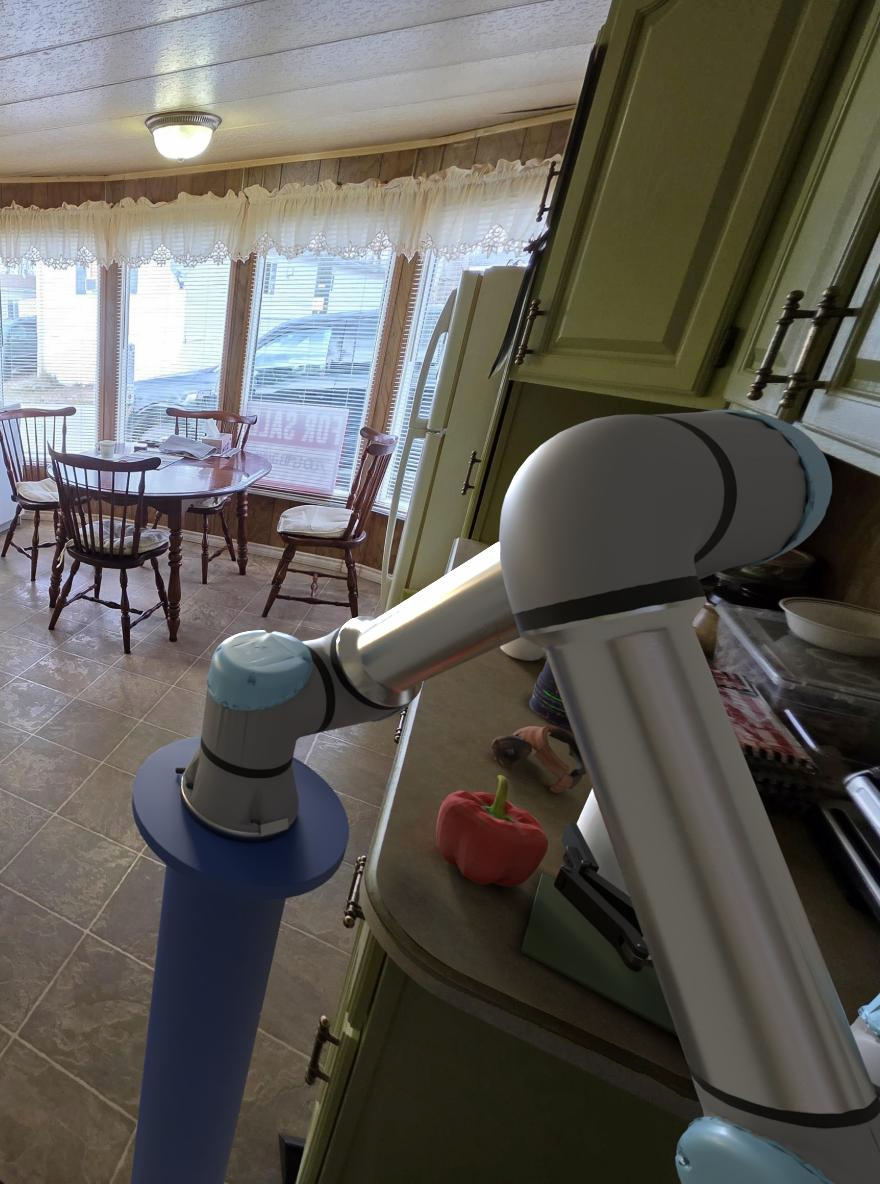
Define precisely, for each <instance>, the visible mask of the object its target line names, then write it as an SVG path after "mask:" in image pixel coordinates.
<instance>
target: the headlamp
mask: <svg viewBox="0 0 880 1184" xmlns="http://www.w3.org/2000/svg"><path fill="white" fill-rule="evenodd" d="M548 737H551V738H553V739H556V740H558V741H560V742H562V743H564V744H566V745H568V747H569V752H568V755H569V756H570V757H572V758H573V759H574V761H575V764H576V767H577V768H574V769H573V770H572V771H571V772H570V766H569V765H568V764H566V763H565V762H564V761H563V760H561V759H560V758H559V757H558V755H557V754H556V753H555V752H554V751H553V749H552V747H551V746H550V743H549V740H548ZM490 750H491V753H492V755H493V757H494V759H495V760H496V761H497V762H499V763H500V764H501V766H503V767H504V768H506V769H507V770H510V769H511V768H513V766H514V765H515V764H516V763H518V762H520V761H521V760H523V759H527V758H528V757H529V755H530V754H531V753H532V751H533V750H535V751H536V752H534V754H533V756H534V757H535V758H536V759H538V760H539V761H540V763H541V764H542V765H543V766H544V767H546V768H547V769H548V770H549V771H550V772H551V773H552V774H553V775H554V776H555V777H556V778H558V780H557V781H556V782H555V783H554V784H553V785H551V786H550V787H549V791H550V792H552V793H554V794H561V793H564V792H566V791H567V790H568V789H569V790H571V789H573V788H575V787H576V786H577V785H579V783H580V782H581V780H582V779H583V776H584V775H587V772H586V769H585V766H584V763H583V760H582V757H581V754H580V752H579V749H578V746H577V743H576V740H575V737H574V734H573V733H570V732H569V731H567V730H566V729H564V728H562V727H560V726H559V725H558V726H557V725H552V724H548V725H545V726H543V727H542V726H537V725H536V726H535V725H534V726H531V725H530V726H525V727H522V728H520V729H516V730H515V731H514V732H513V733H512V734H508V735H501V736H498V737H496V738H494V739H493V740H492V742H491V746H490ZM568 772H570V773H568Z"/></svg>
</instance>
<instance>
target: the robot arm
mask: <svg viewBox="0 0 880 1184" xmlns="http://www.w3.org/2000/svg"><path fill="white" fill-rule="evenodd" d="M832 492H833V480H832V472H831V469H830V466H829V463H828V460H827V459H826V456H825V454H824V453H823V451H822V450H821V449H820V447H819V446H818V445H817V443H816V442H814V440H813V439H812V438H811V437H810V436H808V434H806V433H805V432H803V431H802V430H800V429H799V428H798V427H796V426H795V425H793V424H791V423H789V422H787V421H784V420H781V419H779V418H776V417H773V416H768V415H763V414H757V413H751V412H747V411H743V410H739V409H738V410H737V409H711V410H707V411H698V412H697V411H696V412H679V413H661V414H639V413H638V414H637V413H636V414H634V413H633V414H616V415H610V416H604V417H598V418H593V419H590V420H586V421H584V422H581V423H579V424H576V425H573V426H571V427H569V428H567V429H565V430H563V431H560V432H558V433H557V434H555V435H554V436H553V437H551V438H549V439H548V440H546V441H544V443H542V444H541V445H539V446H538V448H536V449H535V450H534V452H532V453H531V454H530V455H529V456H528V457H527V458H526V460H525V461H524V462H523V463H522V465H521V466H520V467H519V468H518V470H517V471H516V473H515V475H513V478H512V480H511V483H510V485H509V487H508V488H507V492H506V493H505V496H504V499H503V503H502V508H501V511H500V520H499V521H500V522H499V533H498V534H499V535H498V542H496V543H494V544H493V545H491V546H490V547H488V548H486V549H485V550H483V551H482V552H480V553H479V554H477V555H475V556H474V557H472V558H471V559H469V560H467V561H466V562H464V563H462V564H461V565H460V566H458V567H456V568H455V569H453V570H452V571H450V572H448V573H447V574H445V575H444V576H442V577H441V578H439V579H437V580H436V581H434V582H432V583H431V584H429V585H428V586H426V587H425V588H423V589H421V590H420V591H419V592H417V593H414V594H413V595H412V596H410V597H409V598H407V599H406V600H404V601H402V602H401V603H400V604H398V605H396V606H395V607H393V608H391V609H389V610H388V611H387V612H385V613H383V614H382V615H380V616H378V617H377V616H371V615H361V616H357V617H354V618H352V619H350V620H348V621H346V623H344V624H342V625H341V626H339V627H338V628H336V629H335V630H333V631H332V632H330V633H329V634H327V635H325V636H322V637H320V638H316V639H310V640H304V641H301V640H300V639H298V638H296V637H295V636H293V635H289V634H287V633H284V632H279V631H272V632H267V631H266V630H262V629H261V630H249V631H244V632H240V633H237V634H234V635H232V636H229V637H228V638H226V639H224V640H223V641H222V642H221V643H220V644H219V645H218V646H217V647H216V649H215V651H214V652H213V655H212V658H211V662H210V666H209V669H208V673H207V676H206V694H205V702H204V703H205V704H204V711H203V718H202V725H201V734H200V737H201V742H200V745H199V746H198V748H197V750H196V752H195V754H194V755H193V757H192V759H191V761H190V762H189V764H188V766H187V768H184V767H176V769H175V772H176V774H183V777H182V782H181V792H180V793H181V800H182V803H183V806H184V808H185V809H186V811H187V812H188V814H189V815H190V816H191V817H192V818H193V819H194V820H195V821H196V822H197V823H198V824H199V825H200V826H202V827H203V828H205V829H206V830H208V831H210V832H211V833H213V834H215V835H218V836H220V837H223V838H225V839H229V840H232V841H237V842H243V843H264V842H269V841H273V840H276V839H278V838H280V837H282V836H284V835H285V834H286V833H288V832H289V831H290V830H291V829H292V827H293V826H294V824H295V821H296V817H297V813H298V807H299V800H298V794H297V788H296V783H295V778H294V773H293V768H292V760H293V757H294V754H295V750H296V746H297V741H298V740H299V739H300V738H304V737H308V736H311V735H316V734H320V733H324V732H329V731H334V730H337V729H338V730H339V729H343V728H347V727H352V726H355V725H356V726H357V725H361V724H365V723H370V722H371V723H374V722H379V721H380V722H381V721H384V720H386V719H389V718H392V717H394V716H395V715H397V714H399V713H401V712H402V711H404V710H405V709H406V708H408V706H409V705H410V704H411V703H412V702H413V700H415V699H416V698H417V697H418V696H419V694H420V692H421V690H422V687H423V684H424V682H426V681H428V680H430V679H432V678H434V677H437V676H439V675H442V674H443V673H445V672H448V671H449V670H452V669H455V668H456V667H459V666H461V665H463V664H465V663H466V662H470V661H472V660H474V659H476V658H478V657H480V656H482V655H485V654H487V653H489V652H491V651H494V650H496V649H498V648H501V646H502V645H505V644H507V643H509V642H511V641H513V640H516V639H518V638H520V637H521V638H523V639H525V640H527V641H529V642H531V643H533V644H535V645H536V646H538V647H540V648H542V650H543V651H544V652H545V657H546V660H547V659H548V662H549V665H550V668H551V671H552V674H553V676H554V679H555V682H556V685H557V688H558V691H559V694H560V697H561V700H562V702H563V705H564V708H565V711H566V714H567V717H568V720H569V723H570V726H571V728H572V729H571V728H570V729H571V731H572V735H573V736H574V737H575V740H576V743H577V746H578V749H579V752H580V754H581V757H582V760H583V763H584V766H585V769H586V772H587V773H586V775H587V777H588V780H589V783H590V786H591V790H592V789H593V792H594V795H595V798H596V801H597V804H598V806H599V809H600V812H601V815H602V818H603V821H604V824H605V827H606V830H607V832H608V835H609V838H610V841H611V844H612V847H613V850H614V853H615V856H616V858H617V861H618V864H619V867H620V870H621V873H622V876H623V879H624V882H625V884H626V887H627V890H628V893H629V896H630V897H629V896H628V895H627V894H625V893H624V892H622V891H621V890H620V889H618V888H617V887H615V886H614V885H613V884H611V883H610V882H608V881H607V880H606V879H604V878H603V877H602V876H600V875H599V874H597V871H598V869H599V866H598V864H597V862H596V860H595V858H594V856H593V854H592V852H591V850H590V848H589V846H588V845H587V843H586V841H585V839H584V837H583V835H582V833H581V831H580V829H579V827H578V825H577V822H571V821H568V822H567V824H566V827H565V829H564V831H563V834H562V836H561V838H560V842H561V843H562V846H563V848H564V852H563V854H562V861H563V863H564V864H563V865H561V866H560V869H559V870H558V873H557V875H556V876H555V879H556V880H555V882H554V886H555V888H556V889H557V890H558V891H559V892H560V893H561V894H562V895H563V896H564V897H565V898H566V899H567V900H568V901H569V902H570V903H571V904H572V905H573V906H574V907H575V908H576V909H577V910H578V911H579V912H580V913H581V914H582V915H583V916H584V917H585V918H586V919H587V920H588V921H589V922H590V923H591V924H592V925H593V926H594V927H595V928H596V929H597V930H598V931H599V932H600V933H601V934H602V936H603V937H604V938H605V939H606V940H607V941H608V942H609V943H610V944H611V945H612V946H613V947H614V948H615V949H616V951H617V952H618V954H619V956H620V957H621V959H622V961H623V962H624V964H625V965H626V966H627V967H628V968H629V969H630V970H632V971H635V972H640V971H641V969H642V967H643V966H647V967H652V968H655V971H656V974H657V977H658V980H659V983H660V986H661V989H662V991H663V994H664V997H665V1000H666V1003H667V1006H668V1009H669V1012H670V1015H671V1017H672V1020H673V1023H674V1026H675V1029H676V1032H677V1035H678V1036H677V1037H678V1041H679V1044H680V1046H681V1049H682V1052H683V1054H684V1058H685V1061H686V1064H687V1067H688V1069H689V1072H690V1075H691V1078H692V1083H693V1086H694V1089H695V1092H696V1095H697V1097H698V1100H699V1103H700V1105H701V1109H702V1111H703V1116H701V1117H696V1118H694V1119H693V1121H691V1122H690V1123H689V1124H688V1126H687V1129H686V1130H685V1132H683V1133H682V1135H681V1136H680V1138H679V1140H678V1142H677V1145H676V1156H675V1157H674V1159H675V1168H676V1171H677V1175H678V1178H679V1181H680V1183H681V1184H880V993H878V994H877V996H876V997H875V998H874V999H872V1001H870V1002H869V1003H868V1004H865V1005H863V1006H861V1007H860V1008H859V1009H858V1010H857V1013H858V1014H859V1015H858V1017H856V1019H855V1020H854V1022H852V1024H851V1025H850V1023H849V1020H848V1018H847V1015H846V1012H845V1010H844V1008H843V1005H842V1002H841V999H840V997H839V995H838V992H837V990H836V987H835V984H834V982H833V979H832V977H831V974H830V972H829V969H828V966H827V964H826V961H825V959H824V957H823V954H822V951H821V949H820V946H819V944H818V941H817V938H816V933H815V932H816V931H815V928H813V926H811V923H810V921H809V919H808V916H807V913H806V910H805V908H804V905H803V902H802V900H801V898H800V895H799V893H798V890H797V887H796V885H795V883H794V880H793V877H792V875H791V873H790V869H789V867H788V864H787V862H786V860H785V857H784V854H783V852H782V849H781V847H780V844H779V842H778V840H777V837H776V834H775V832H774V829H773V826H772V824H771V821H770V819H769V816H768V814H767V811H766V809H765V806H764V803H763V801H762V798H761V796H760V794H759V791H758V789H757V786H756V782H755V781H754V778H753V776H752V773H751V770H750V768H749V764H748V763H747V760H746V758H745V755H744V752H743V750H742V747H741V745H740V742H739V739H738V737H737V734H736V732H735V728H734V727H733V724H732V722H731V719H730V716H729V714H728V711H727V709H726V707H725V706H726V705H725V704H724V701H723V699H722V696H721V694H720V691H719V688H718V686H717V684H716V681H715V678H714V676H713V674H712V670H711V668H710V666H709V663H708V661H707V658H706V656H705V653H704V651H703V647H702V645H701V643H700V640H699V637H698V636H697V632H696V630H695V628H694V621H695V618H696V617H697V616H698V615H699V613H700V612H701V610H703V608H704V606H705V605H706V604H707V603H708V600H707V596H706V593H705V592H704V589H703V587H702V584H701V581H700V580H702V579H705V578H708V577H709V576H712V575H715V574H718V573H720V572H723V571H725V570H728V569H742V568H743V569H744V568H747V567H755V566H759V565H763V564H765V563H767V562H769V561H772V560H774V559H776V558H778V557H779V556H781V555H783V554H786V553H787V552H790V551H791V550H792V549H794V548H796V547H798V546H799V545H800V544H802V543H803V542H804V541H805V540H807V539H808V538H809V537H810V536H811V535H812V534H813V533H814V531H815V530H816V529H817V528H818V527H819V525H820V524H821V523H822V521H823V519H824V518H825V516H826V513H827V509H828V507H829V504H830V502H831V501H830V500H831V496H832Z"/></svg>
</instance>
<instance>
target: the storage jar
mask: <svg viewBox="0 0 880 1184" xmlns="http://www.w3.org/2000/svg"><path fill="white" fill-rule="evenodd" d="M528 702H529V706H530V709H532V711H533V712H534V713H536V714H537V715H538V716H540V717H542V718H543V719H545V720H546V721H548V722H551V723H553V724H555V725H558V726H561V727H564V728H568V729H571V730H572V728H571V726H570V723H569V720H568V717H567V714H566V711H565V708H564V705H563V702H562V700H561V697H560V694H559V691H558V688H557V685H556V682H555V679H554V676H553V674H552V671H551V668H550V665H549V662H548V659H547V658H546V661H545V664H544V666H543V668H542V671H541V672H540V673H539V675H538V677H537V680H536V681H535V683H534V686H533V691H532V696H531V697H530V700H529V701H528Z"/></svg>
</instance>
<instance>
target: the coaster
mask: <svg viewBox="0 0 880 1184" xmlns="http://www.w3.org/2000/svg"><path fill="white" fill-rule="evenodd" d="M555 880H556V878H554V877H552V876H550V875H547V874H546V873H544V872H541V875H540V878H539V882H538V886H537V890H536V894H535V898H534V902H533V905H532V909H531V913H530V915H529V920H528V924H527V928H526V931H525V935H524V939H523V943H522V946H521V950H520V952H521V953H522V954H524V955H526V956H528V957H530V958H532V959H534V961H535V960H536V961H537V962H539V963H541V964H543V965H545V966H546V967H548V968H550V969H551V970H553V971H555V972H558V973H559V974H561V975H563V976H565V977H567V978H569V979H571V980H572V981H575V982H576V983H578V984H580V985H582V986H583V987H585V988H587V989H589V990H591V991H593V992H595V993H596V994H598V995H600V996H602V997H604V998H605V999H608V1000H610V1001H611V1002H613V1003H615V1004H617V1005H619V1006H621V1007H622V1008H624V1009H626V1010H628V1011H630V1012H631V1013H634V1014H635V1015H637V1016H639V1017H641V1018H643V1019H644V1020H646V1021H648V1022H650V1023H652V1024H654V1025H656V1026H657V1027H659V1028H661V1029H663V1030H665V1031H667V1032H669V1033H670V1034H672V1035H674V1036H676V1037H678V1035H677V1032H676V1029H675V1026H674V1023H673V1020H672V1017H671V1015H670V1012H669V1009H668V1006H667V1003H666V1000H665V997H664V994H663V991H662V989H661V986H660V983H659V980H658V977H657V974H656V971H655V968H652V967H647V966H643V967H642V969H641V971H640V972H635V971H632V970H630V969H629V968H628V967H627V966H626V965H625V964H624V962H623V961H622V959H621V957H620V956H619V954H618V952H617V951H616V949H615V948H614V947H613V946H612V945H611V944H610V943H609V942H608V941H607V940H606V939H605V938H604V937H603V936H602V934H601V933H600V932H599V931H598V930H597V929H596V928H595V927H594V926H593V925H592V924H591V923H590V922H589V921H588V920H587V919H586V918H585V917H584V916H583V915H582V914H581V913H580V912H579V911H578V910H577V909H576V908H575V907H574V906H573V905H572V904H571V903H570V902H569V901H568V900H567V899H566V898H565V897H564V896H563V895H562V894H561V893H560V892H559V891H558V890H557V889H556V888H555V886H554V882H555Z"/></svg>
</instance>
